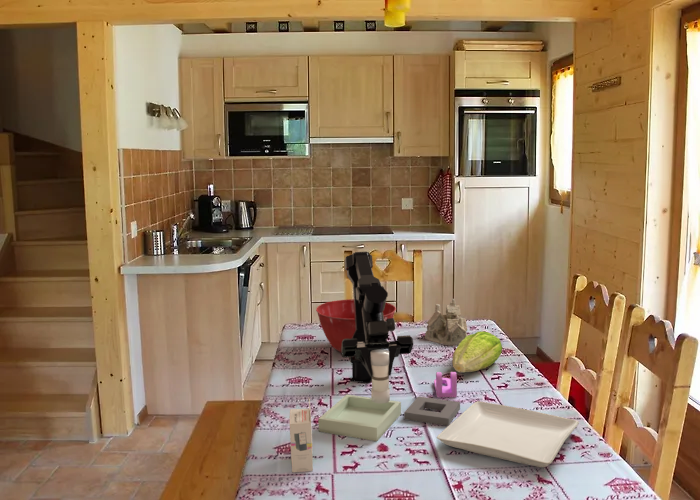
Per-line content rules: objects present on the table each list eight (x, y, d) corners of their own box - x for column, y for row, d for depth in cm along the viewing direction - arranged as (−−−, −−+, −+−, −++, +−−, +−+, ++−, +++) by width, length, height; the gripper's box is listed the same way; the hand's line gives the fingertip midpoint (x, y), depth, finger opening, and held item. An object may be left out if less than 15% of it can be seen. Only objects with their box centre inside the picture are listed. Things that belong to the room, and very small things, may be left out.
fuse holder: (404, 419, 177) (404, 412, 176) (418, 403, 188) (418, 396, 187) (448, 425, 172) (448, 418, 172) (460, 409, 183) (460, 402, 183)
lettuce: (433, 359, 210) (463, 341, 203) (465, 335, 230) (493, 319, 223) (455, 392, 208) (485, 375, 201) (485, 365, 228) (514, 349, 221)
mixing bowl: (410, 344, 243) (409, 303, 241) (370, 367, 220) (369, 321, 217) (345, 334, 258) (344, 295, 256) (301, 354, 235) (300, 311, 232)
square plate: (549, 479, 144) (550, 462, 144) (434, 451, 159) (434, 436, 158) (579, 432, 167) (580, 418, 167) (476, 412, 181) (476, 398, 181)
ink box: (291, 455, 157) (288, 396, 155) (312, 454, 158) (310, 395, 155) (291, 473, 149) (288, 410, 147) (313, 472, 149) (311, 409, 147)
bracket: (456, 397, 192) (456, 374, 190) (437, 397, 192) (437, 374, 191) (451, 381, 204) (451, 360, 203) (433, 382, 205) (433, 360, 204)
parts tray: (318, 431, 170) (318, 418, 170) (347, 406, 187) (346, 394, 186) (377, 441, 164) (376, 427, 163) (401, 414, 180) (400, 401, 180)
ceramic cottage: (424, 333, 257) (425, 295, 254) (467, 335, 255) (469, 297, 252) (424, 347, 242) (425, 308, 239) (469, 349, 240) (471, 310, 237)
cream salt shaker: (367, 399, 174) (366, 351, 172) (381, 395, 177) (380, 348, 175) (380, 405, 170) (379, 356, 168) (393, 400, 173) (393, 352, 171)
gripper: (341, 309, 173) (346, 363, 164) (411, 305, 175) (421, 359, 166) (339, 330, 182) (344, 383, 173) (406, 326, 184) (414, 378, 175)
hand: (380, 375), depth 171 cm, fingers closed on cream salt shaker, 4 cm apart
